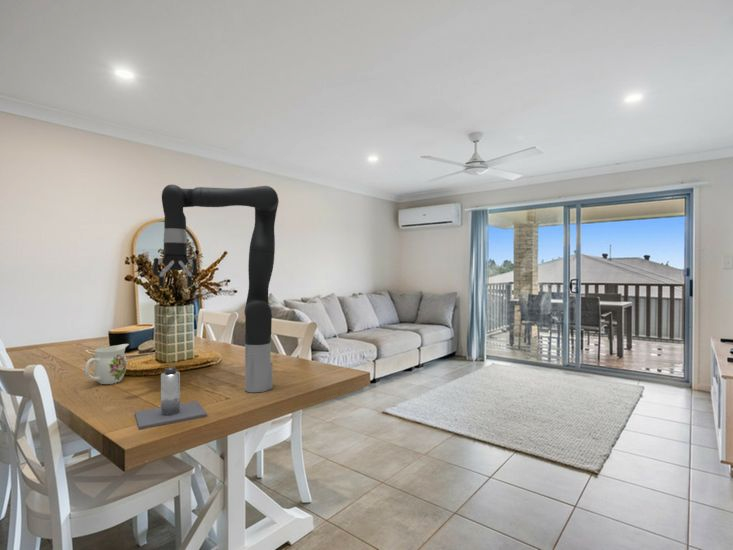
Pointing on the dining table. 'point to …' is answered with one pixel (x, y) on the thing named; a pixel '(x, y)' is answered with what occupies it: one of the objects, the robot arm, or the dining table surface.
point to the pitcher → (108, 364)
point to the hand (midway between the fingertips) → (175, 287)
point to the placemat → (156, 419)
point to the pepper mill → (170, 392)
